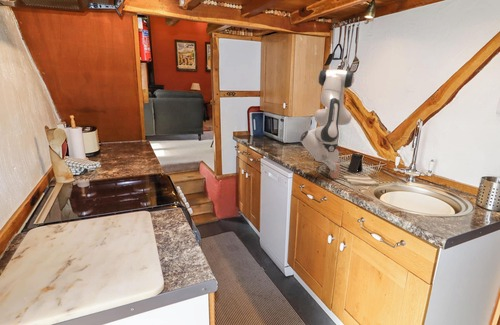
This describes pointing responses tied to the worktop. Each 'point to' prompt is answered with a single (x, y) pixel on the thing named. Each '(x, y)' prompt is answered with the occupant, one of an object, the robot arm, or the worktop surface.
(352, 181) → the ash board
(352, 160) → the door stopper
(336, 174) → the terracotta block
